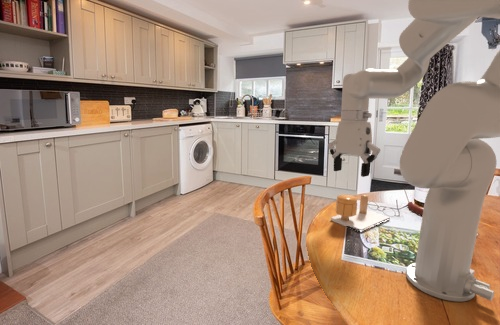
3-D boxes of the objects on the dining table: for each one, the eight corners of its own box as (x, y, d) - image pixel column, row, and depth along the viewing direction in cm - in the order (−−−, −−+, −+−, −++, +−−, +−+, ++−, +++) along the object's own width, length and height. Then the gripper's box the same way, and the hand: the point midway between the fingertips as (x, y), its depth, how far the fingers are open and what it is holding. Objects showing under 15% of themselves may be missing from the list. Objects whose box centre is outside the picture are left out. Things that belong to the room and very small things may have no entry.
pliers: (422, 229, 91) (423, 221, 90) (406, 206, 110) (407, 200, 109) (464, 234, 88) (465, 226, 87) (440, 210, 107) (441, 203, 106)
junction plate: (389, 220, 96) (391, 199, 95) (360, 232, 87) (363, 210, 85) (359, 210, 105) (361, 191, 103) (330, 220, 95) (332, 199, 94)
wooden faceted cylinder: (348, 218, 89) (349, 202, 88) (332, 211, 94) (333, 197, 93) (359, 213, 93) (361, 198, 92) (343, 207, 97) (344, 193, 96)
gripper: (389, 117, 82) (384, 176, 85) (337, 116, 96) (335, 167, 99) (374, 117, 78) (369, 180, 81) (322, 116, 91) (320, 170, 94)
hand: (350, 173), depth 90 cm, fingers open, 9 cm apart
